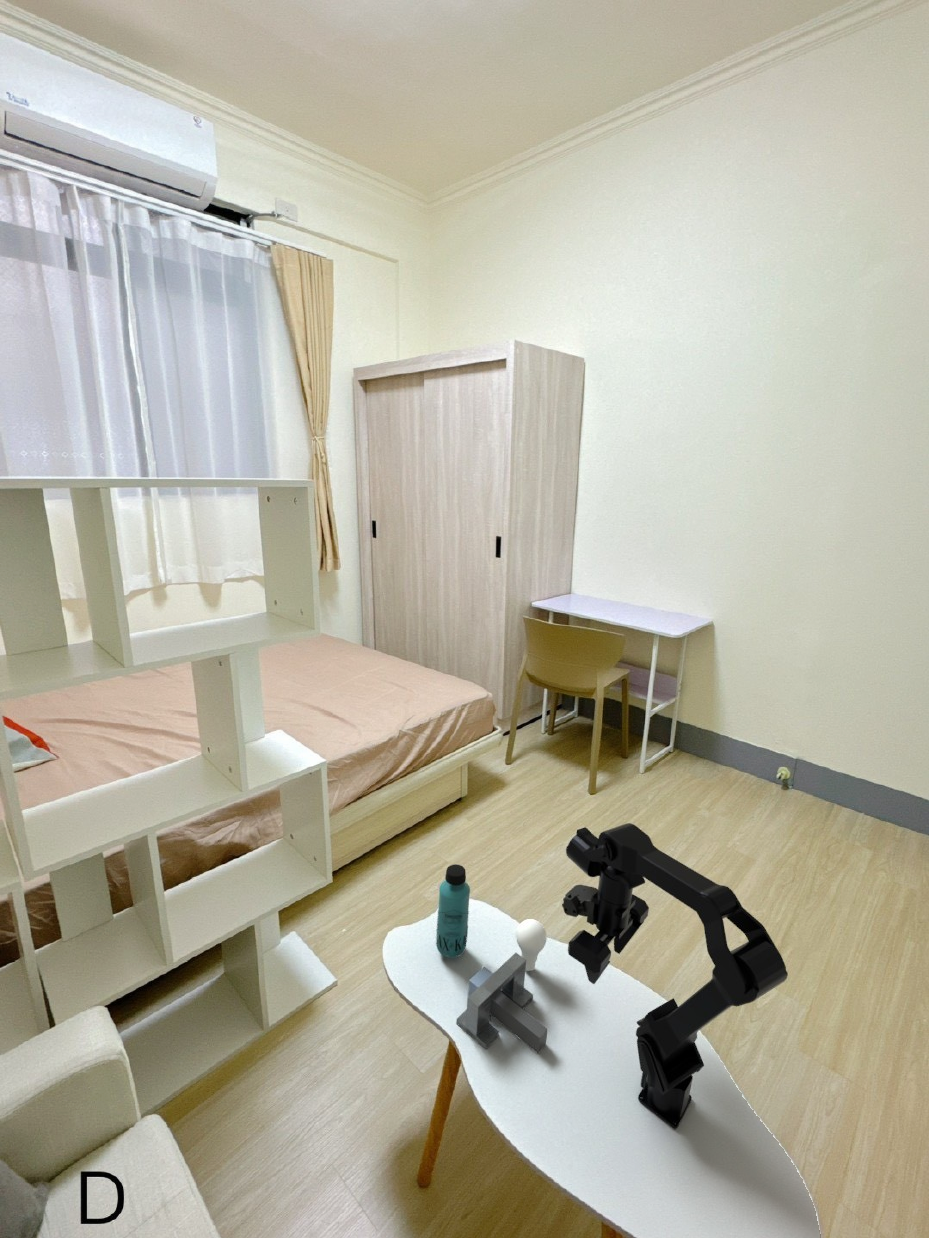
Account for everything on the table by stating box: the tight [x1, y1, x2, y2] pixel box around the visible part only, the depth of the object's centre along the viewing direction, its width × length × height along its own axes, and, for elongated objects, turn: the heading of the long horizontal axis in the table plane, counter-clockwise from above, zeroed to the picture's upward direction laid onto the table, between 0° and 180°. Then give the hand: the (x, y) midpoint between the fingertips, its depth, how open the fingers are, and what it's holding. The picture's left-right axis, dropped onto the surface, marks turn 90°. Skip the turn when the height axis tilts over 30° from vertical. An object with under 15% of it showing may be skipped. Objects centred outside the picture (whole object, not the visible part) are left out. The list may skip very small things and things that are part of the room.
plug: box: [467, 966, 548, 1055], centre depth 106 cm, size 16×4×5 cm, turn 48°
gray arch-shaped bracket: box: [455, 952, 534, 1050], centre depth 107 cm, size 7×14×8 cm, turn 138°
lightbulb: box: [515, 918, 548, 972], centre depth 116 cm, size 6×6×11 cm
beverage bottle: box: [435, 863, 471, 958], centre depth 118 cm, size 6×7×20 cm
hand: (604, 966), depth 104 cm, fingers open, 9 cm apart
